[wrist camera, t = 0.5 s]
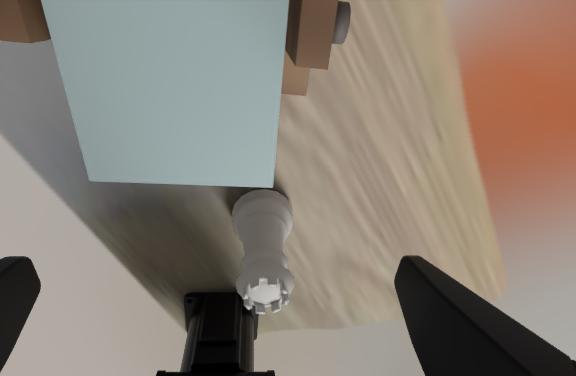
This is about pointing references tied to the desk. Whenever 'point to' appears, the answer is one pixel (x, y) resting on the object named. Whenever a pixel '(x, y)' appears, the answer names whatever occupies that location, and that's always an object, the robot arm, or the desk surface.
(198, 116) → the pivoting flap
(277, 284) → the rook chess piece
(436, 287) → the robot arm
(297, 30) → the flap frame
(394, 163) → the desk surface
